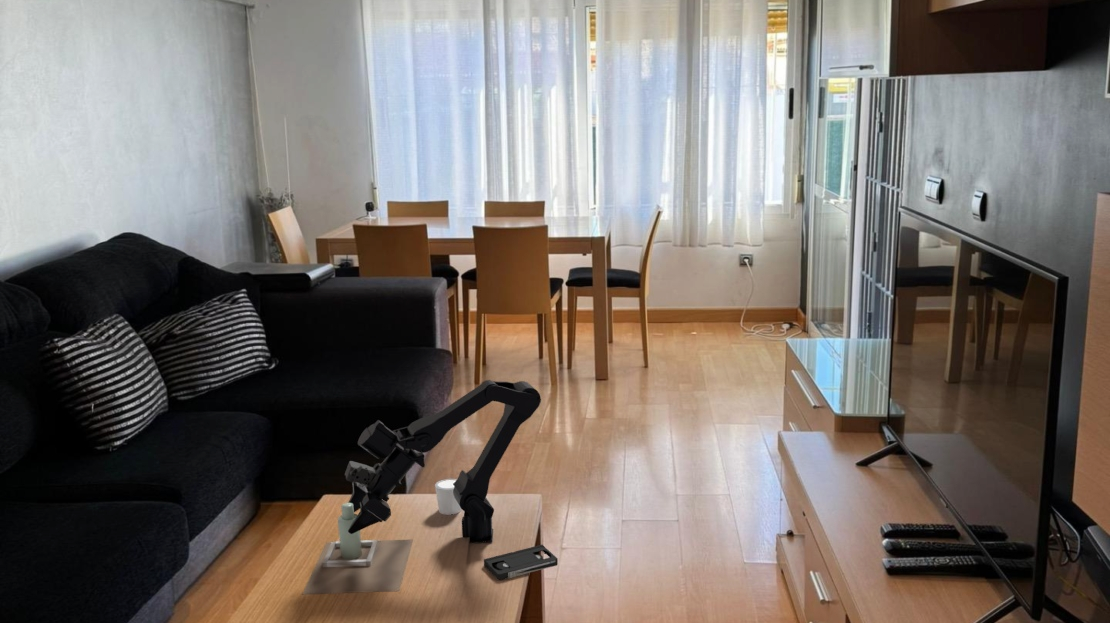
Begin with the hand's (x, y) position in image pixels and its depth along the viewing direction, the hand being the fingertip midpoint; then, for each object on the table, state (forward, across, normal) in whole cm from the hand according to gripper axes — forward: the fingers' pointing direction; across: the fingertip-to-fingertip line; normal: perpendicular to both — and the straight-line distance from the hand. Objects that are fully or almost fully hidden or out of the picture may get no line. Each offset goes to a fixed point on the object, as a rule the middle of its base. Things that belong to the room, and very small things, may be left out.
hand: (346, 524), depth 219 cm
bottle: (+5, 0, +6) cm, 8 cm away
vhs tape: (-18, +17, +31) cm, 40 cm away
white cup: (-13, -18, +25) cm, 34 cm away
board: (+5, +6, +7) cm, 10 cm away
